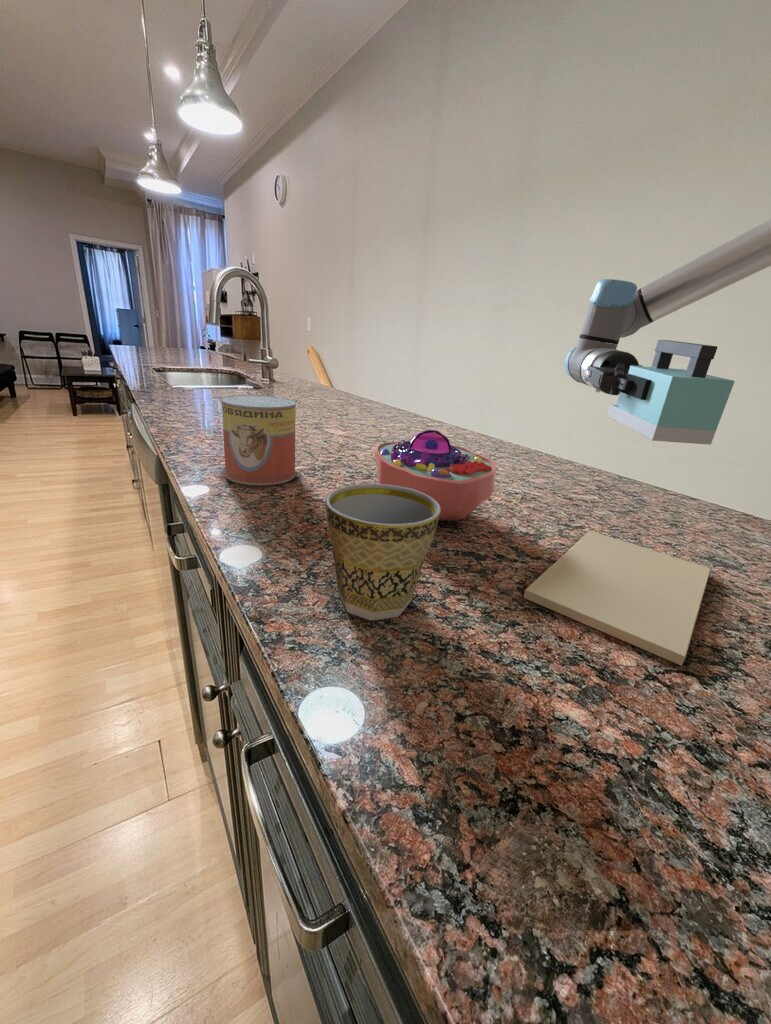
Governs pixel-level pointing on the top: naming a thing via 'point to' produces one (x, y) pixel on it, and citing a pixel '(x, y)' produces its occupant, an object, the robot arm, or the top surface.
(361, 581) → the ceramic cup
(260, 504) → the top surface
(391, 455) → the cell model
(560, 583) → the mat
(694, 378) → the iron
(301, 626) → the top surface
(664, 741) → the top surface
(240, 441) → the canned food
